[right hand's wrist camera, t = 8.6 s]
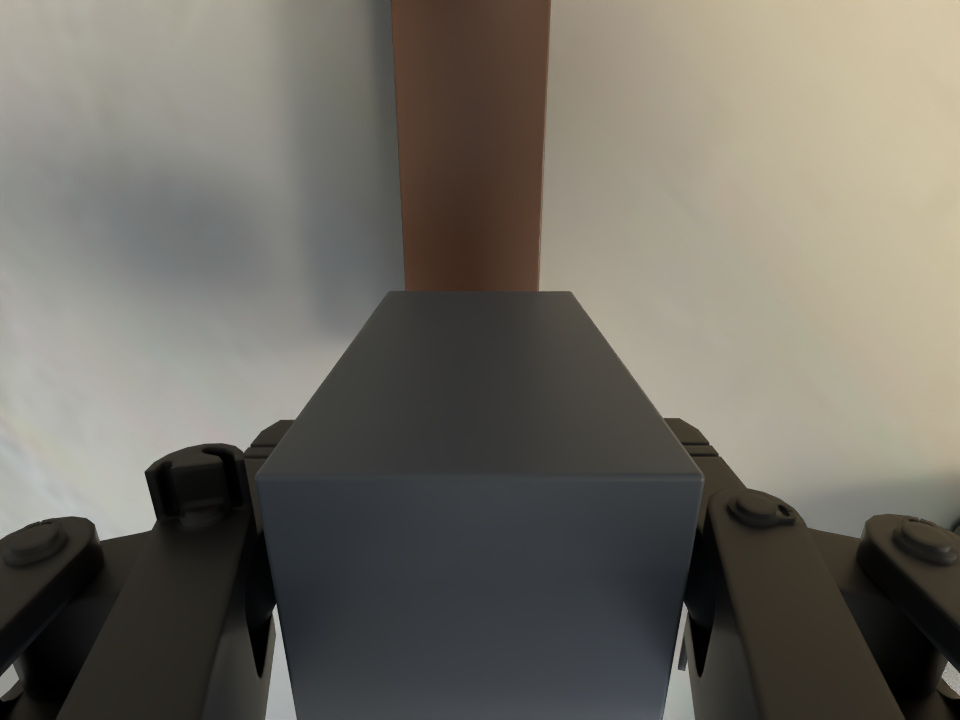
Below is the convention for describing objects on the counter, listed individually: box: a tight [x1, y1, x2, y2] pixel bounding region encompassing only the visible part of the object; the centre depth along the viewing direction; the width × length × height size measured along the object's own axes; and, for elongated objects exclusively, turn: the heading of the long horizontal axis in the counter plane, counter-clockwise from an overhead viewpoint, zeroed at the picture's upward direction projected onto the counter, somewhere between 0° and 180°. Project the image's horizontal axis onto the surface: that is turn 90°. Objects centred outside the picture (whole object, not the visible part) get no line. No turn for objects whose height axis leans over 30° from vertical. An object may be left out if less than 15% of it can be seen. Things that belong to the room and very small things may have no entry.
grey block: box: [255, 291, 705, 720], centre depth 11 cm, size 5×5×9 cm
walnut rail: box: [390, 0, 551, 291], centre depth 21 cm, size 6×26×6 cm, turn 0°
